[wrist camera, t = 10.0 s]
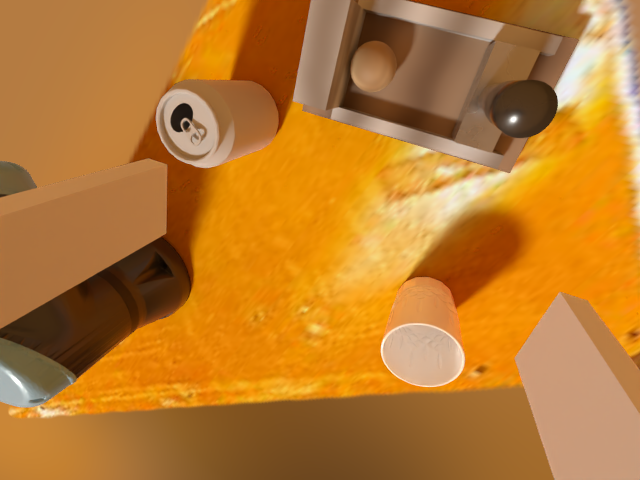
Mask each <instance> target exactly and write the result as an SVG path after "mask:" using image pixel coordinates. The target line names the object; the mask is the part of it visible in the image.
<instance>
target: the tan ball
mask: <svg viewBox="0 0 640 480" xmlns="http://www.w3.org/2000/svg"><path fill="white" fill-rule="evenodd" d="M396 67H397V63H396V57H395V54H394V52H393V51H392V49H391V48H390V47H389V46H388V45H387V44H385V43H383V42H380V41H370V42H367V43H365V44H363V45H361V46H360V47H359V48H358V49H357V50H356V52H355V53H354V55H353V57H352V60H351V64H350V72H351V77H352V79H353V81H354V83H355V84H356V85H357V86H358V87H359V88H360V89H362V90H364V91H367V92H377V91H380V90H382V89H384V88H385V87H387V86H388V85H389V84H390V82H391V81H392V80H393V78H394V75H395V72H396Z"/></svg>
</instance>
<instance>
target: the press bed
mask: <svg viewBox="0 0 640 480" xmlns="http://www.w3.org/2000/svg"><path fill="white" fill-rule="evenodd" d="M370 41H380V42H383V43H385V44H387V45H388V46H389V47H390V48H391V49H392V51H393V52H394V54H395V57H396V63H397V67H396V72H395V75H394V78H393V80H392V81H391V82H390V84H389V85H388V86H387V87H385V88H384V89H382V90H380V91H377V92H367V91H364V90H362V89H360V88H359V87H358V86H357V85H356V84H355V83H354V81H353V79H352V77H351V72H350V64H351V60H352V57H353V55H354V53H355V52H356V50H357V49H358V48H359V47H360V46H361V45H363V44H365V43H367V42H370ZM495 41H501V42H505V43H509V44H513V45H517V46H521V47H526V48H530V49H534V50H538V51H540V53H539V55H538V57H537V60H536V62H535V64H534V66H533V68H532V70H531V72H530V74H529V76H528V78H527V80H539V81H542V82H545V83H547V84H548V85H550V86H551V87H552V88H553V89H554V87H555V85H556V83H557V81H558V79H559V77H560V75H561V73H562V72H563V70H564V68H565V66H566V64H567V62H568V60H569V58H570V56H571V54H572V52H573V50H574V48H575V46H576V45H577V43H578V41H579V40H578V39H574V38H569V37H565V36H561V35H556V34H552V33H548V32H543V31H539V30H535V29H530V28H526V27H522V26H517V25H513V24H509V23H504V22H500V21H496V20H492V19H487V18H483V17H479V16H474V15H470V14H466V13H461V12H457V11H453V10H448V9H444V8H440V7H435V6H431V5H427V4H422V3H418V2H414V1H409V0H311V3H310V8H309V14H308V19H307V25H306V30H305V36H304V41H303V47H302V52H301V58H300V63H299V69H298V74H297V80H296V85H295V90H294V96H293V101H295V102H298V103H301V104H304V105H303V110H302V111H305V112H308V113H312V114H315V115H318V116H322V117H325V118H328V119H332V120H335V121H338V122H342V123H345V124H348V125H352V126H355V127H358V128H361V129H365V130H368V131H371V132H375V133H378V134H381V135H385V136H388V137H391V138H395V139H398V140H401V141H405V142H408V143H411V144H415V145H418V146H421V147H425V148H428V149H431V150H435V151H438V152H441V153H444V154H448V155H451V156H454V157H458V158H461V159H464V160H468V161H471V162H474V163H478V164H481V165H484V166H488V167H491V168H494V169H498V170H501V171H504V172H508V173H510V172H511V170H512V168H513V166H514V164H515V162H516V160H517V158H518V156H519V154H520V152H521V151H522V149H523V147H524V145H525V143H526V141H527V139H528V137H527V138H514V137H510V136H508V135H506V134H505V133H503V132H502V133H501V135H500V137H499V139H498V141H497V143H496V145H495V147H494V149H493V151H492V153H490V152H486V151H483V150H479V149H476V148H473V147H469V146H466V145H462V144H459V143H456V142H454V141H453V137H452V132H453V129H454V127H455V124H456V122H457V119H458V117H459V114H460V112H461V110H462V107H463V105H464V102H465V100H466V97H467V95H468V93H469V90H470V88H471V85H472V83H473V80H474V78H475V75H476V73H477V71H478V68H479V66H480V63H481V61H482V58H483V56H484V54H485V51H486V49H487V47H488V46H489V45H491V44H492V43H493V42H495Z"/></svg>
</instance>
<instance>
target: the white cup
mask: <svg viewBox="0 0 640 480" xmlns="http://www.w3.org/2000/svg"><path fill="white" fill-rule="evenodd" d="M381 355H382V359H383V361H384V363H385V365H386V366H387V368H388V369H389V370H390V371H391V372H392V373H393V374H394V375H395V376H397V377H398V378H400V379H401V380H403V381H405V382H408V383H410V384H413V385H417V386H423V387H435V386H441V385H444V384H447V383H449V382H451V381H453V380H454V379H456V378H457V377H458V376H459V375H460V373H461V372H462V370H463V368H464V364H465V354H464V349H463V343H462V337H461V331H460V325H459V320H458V315H457V310H456V307H455V302H454V299H453V296H452V293H451V290H450V289H449V288H448V287H447V286H446V285H444V284H443V283H442V282H441V281H439V280H436V279H433V278H430V277H415V278H413V279H411V280H408V281H406V282H404V284H403V285H402V286H401V287H400V289H399V290H398V292H397V296H396V300H395V302H394V304H393V307H392V310H391V313H390V316H389V319H388V323H387V327H386V330H385V334H384V337H383V341H382V344H381Z"/></svg>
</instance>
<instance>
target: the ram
mask: <svg viewBox="0 0 640 480" xmlns="http://www.w3.org/2000/svg"><path fill="white" fill-rule="evenodd" d="M539 53H540V51H538V50H534V49H530V48H526V47H521V46H517V45H513V44H509V43H505V42H501V41H495V42H493V43H492V44H491V45H489V46H488V47H487V49H486V51H485V54H484V56H483V58H482V61H481V63H480V66H479V68H478V71H477V73H476V75H475V78H474V80H473V83H472V85H471V88H470V90H469V93H468V95H467V97H466V100H465V102H464V105H463V107H462V110H461V112H460V114H459V117H458V119H457V122H456V124H455V127H454V129H453V132H452V137H453V141H454V142H456V143H459V144H462V145H466V146H469V147H473V148H476V149H479V150H483V151H486V152H490V153H492V151H493V149H494V147H495V145H496V143H497V141H498V139H499V137H500V135H501V133H502V132H503V133H505V134H506V135H508V136H510V137H514V138H527V137H531V136H533V135H536V134H538V133H540V132H541V131H543V130H544V129H545V128H546V127H547V126H548V125H549V124H550V123H551V121H552V120H553V118H554V116H555V114H556V111H557V106H558V100H557V96H556V93H555V91H554V90H553V88H552V87H551V86H550V85H548V84H547V83H545V82H542V81H539V80H527V78H528V76H529V74H530V72H531V70H532V68H533V66H534V64H535V62H536V60H537V57H538V55H539Z"/></svg>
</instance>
